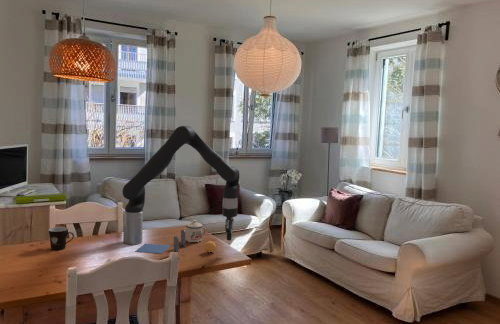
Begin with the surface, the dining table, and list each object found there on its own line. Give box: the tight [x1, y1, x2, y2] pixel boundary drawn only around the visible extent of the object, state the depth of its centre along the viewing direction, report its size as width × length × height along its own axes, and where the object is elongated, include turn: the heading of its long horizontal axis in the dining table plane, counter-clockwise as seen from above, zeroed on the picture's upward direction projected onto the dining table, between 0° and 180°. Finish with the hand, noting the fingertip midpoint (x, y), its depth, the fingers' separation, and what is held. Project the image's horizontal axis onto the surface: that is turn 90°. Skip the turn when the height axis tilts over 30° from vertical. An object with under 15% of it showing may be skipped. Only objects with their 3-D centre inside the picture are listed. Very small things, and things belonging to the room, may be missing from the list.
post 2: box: [180, 229, 187, 248], centre depth 212 cm, size 2×2×9 cm
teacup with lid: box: [185, 219, 207, 243], centre depth 225 cm, size 12×9×12 cm
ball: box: [203, 240, 217, 254], centre depth 205 cm, size 6×6×6 cm
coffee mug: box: [48, 226, 75, 252], centre depth 200 cm, size 12×9×10 cm
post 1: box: [172, 235, 180, 253], centre depth 200 cm, size 2×2×9 cm
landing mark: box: [134, 242, 171, 255], centre depth 208 cm, size 14×14×1 cm
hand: (229, 240), depth 203 cm, fingers closed
